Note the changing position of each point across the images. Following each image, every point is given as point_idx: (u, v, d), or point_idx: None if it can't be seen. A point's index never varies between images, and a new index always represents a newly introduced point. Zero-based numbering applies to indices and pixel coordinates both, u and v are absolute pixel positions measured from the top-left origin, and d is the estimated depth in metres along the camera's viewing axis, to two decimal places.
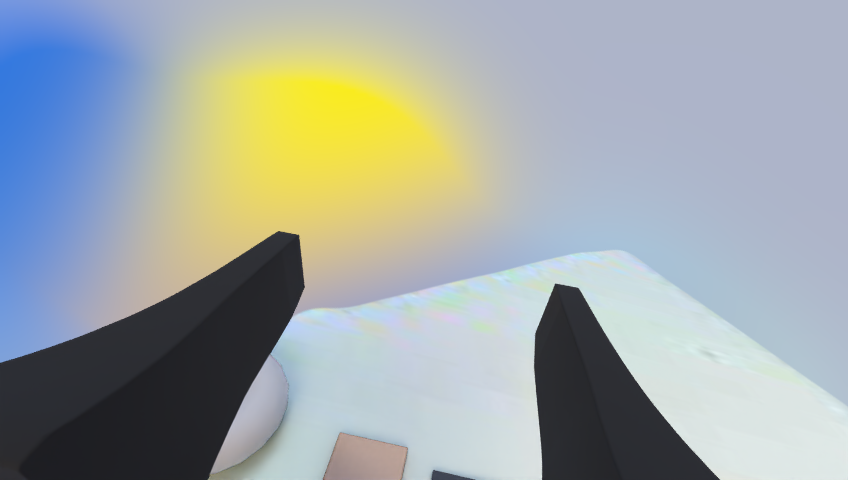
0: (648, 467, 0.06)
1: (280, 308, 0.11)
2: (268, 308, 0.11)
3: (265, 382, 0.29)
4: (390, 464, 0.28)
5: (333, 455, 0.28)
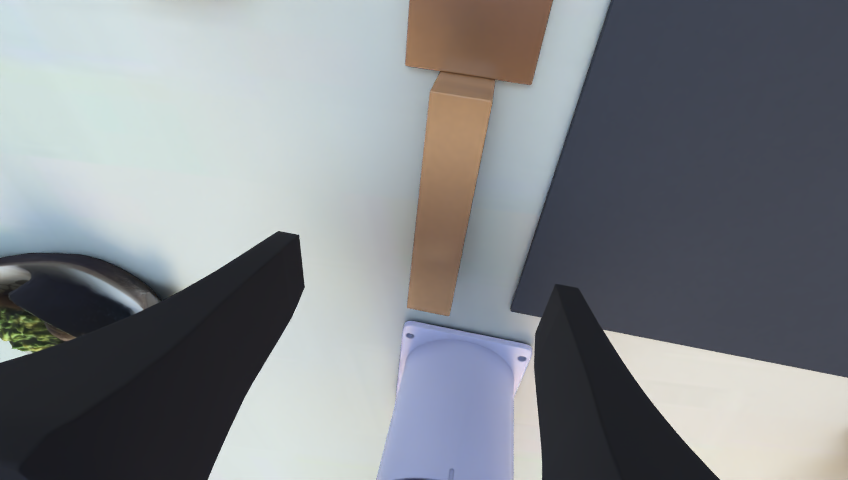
0: (648, 467, 0.06)
1: (280, 308, 0.11)
2: (268, 308, 0.11)
3: None
4: None
5: None
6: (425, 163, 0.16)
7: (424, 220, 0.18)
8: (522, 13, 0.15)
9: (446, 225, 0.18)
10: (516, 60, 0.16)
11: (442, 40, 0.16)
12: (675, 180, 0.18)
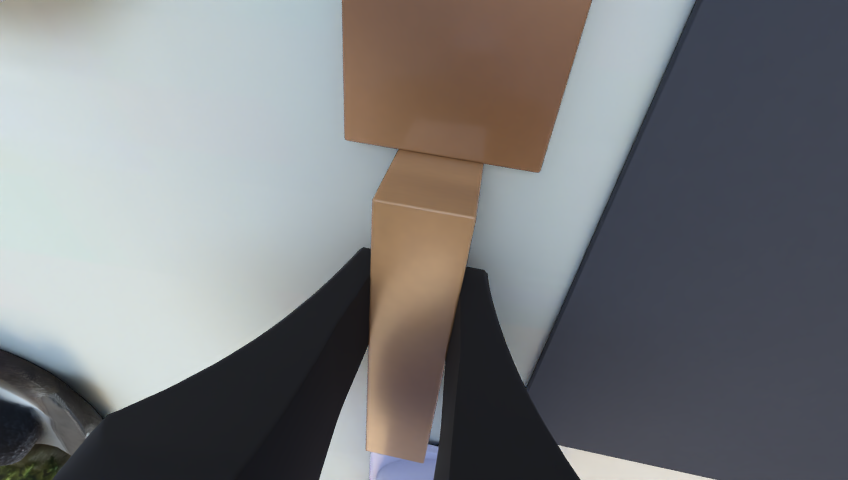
0: (486, 431, 0.06)
1: (367, 326, 0.11)
2: (360, 327, 0.10)
3: None
4: None
5: None
6: (374, 294, 0.10)
7: (379, 361, 0.12)
8: (526, 68, 0.09)
9: (412, 370, 0.12)
10: (516, 137, 0.10)
11: (398, 106, 0.10)
12: (755, 303, 0.12)
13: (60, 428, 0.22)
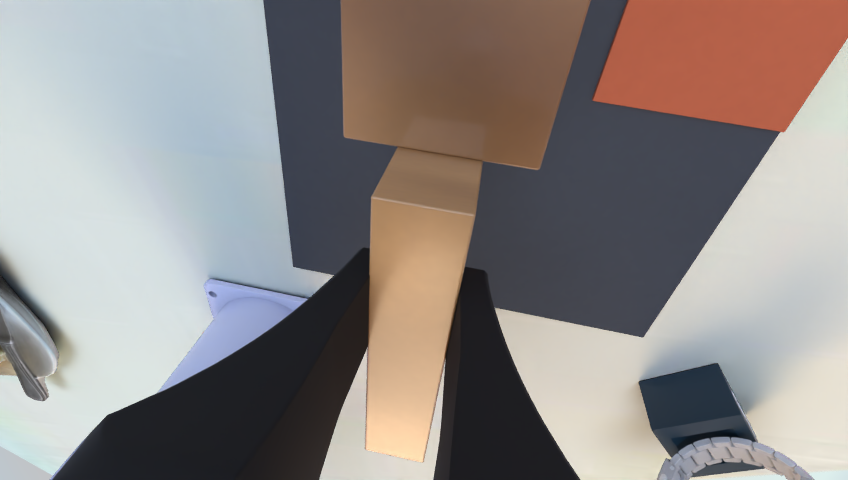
0: (485, 431, 0.06)
1: (367, 326, 0.11)
2: (360, 327, 0.10)
3: None
4: None
5: None
6: (373, 292, 0.10)
7: (378, 360, 0.12)
8: (525, 65, 0.09)
9: (412, 368, 0.12)
10: (515, 135, 0.10)
11: (397, 103, 0.10)
12: None
13: None
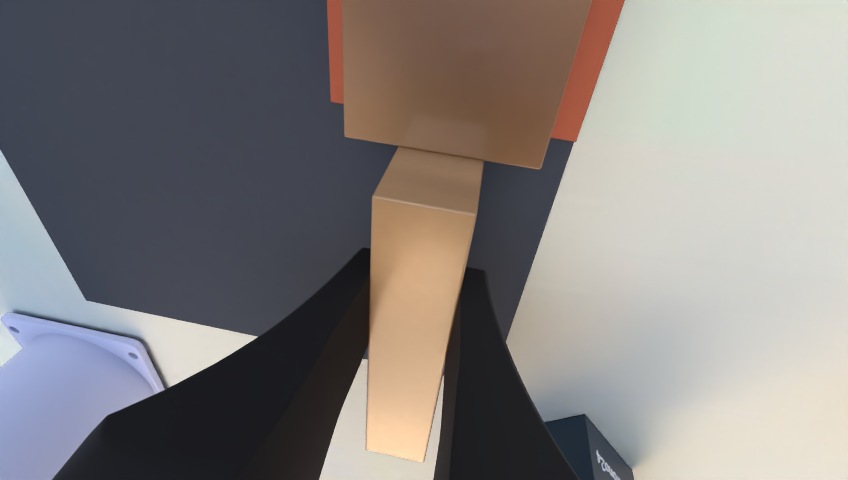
0: (485, 431, 0.06)
1: (367, 326, 0.11)
2: (360, 327, 0.10)
3: None
4: None
5: None
6: (374, 292, 0.10)
7: (379, 359, 0.12)
8: (527, 64, 0.09)
9: (412, 368, 0.12)
10: (517, 134, 0.10)
11: (398, 102, 0.10)
12: (106, 134, 0.14)
13: None
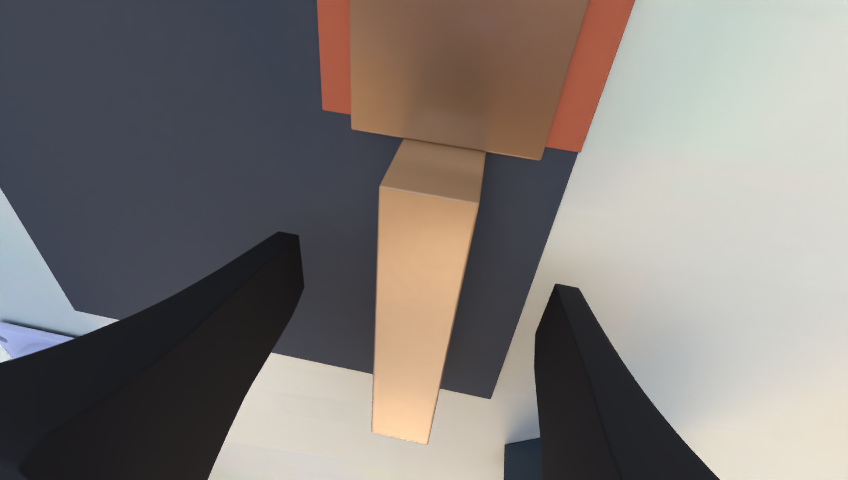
0: (648, 467, 0.06)
1: (280, 308, 0.11)
2: (268, 308, 0.11)
3: None
4: None
5: None
6: (380, 279, 0.11)
7: (385, 344, 0.12)
8: (527, 58, 0.09)
9: (417, 352, 0.12)
10: (518, 126, 0.10)
11: (404, 95, 0.10)
12: (90, 142, 0.14)
13: None
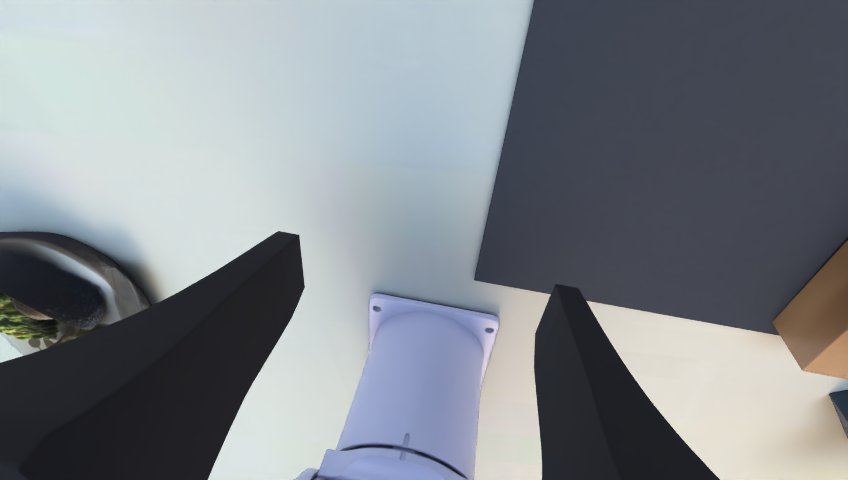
0: (647, 467, 0.06)
1: (280, 308, 0.11)
2: (268, 308, 0.11)
3: None
4: None
5: None
6: None
7: None
8: None
9: None
10: None
11: None
12: (627, 133, 0.17)
13: (122, 303, 0.28)
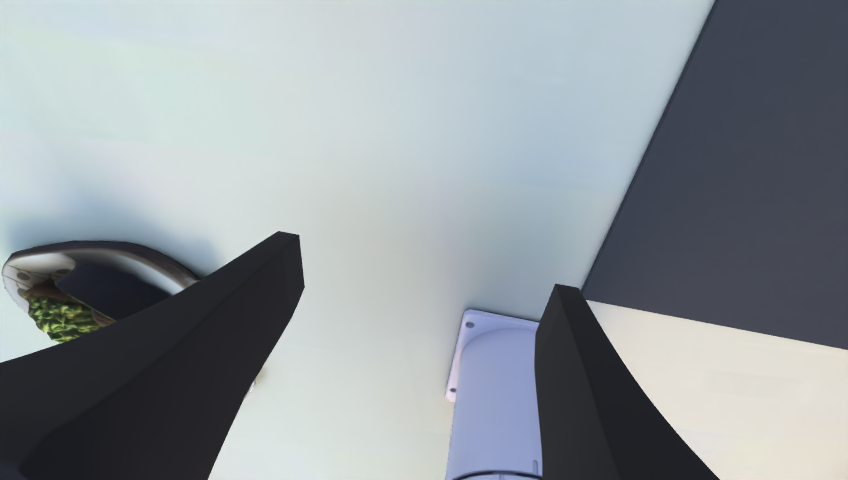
0: (648, 467, 0.06)
1: (280, 308, 0.11)
2: (268, 308, 0.11)
3: None
4: None
5: None
6: None
7: None
8: None
9: None
10: None
11: None
12: (779, 156, 0.17)
13: None
